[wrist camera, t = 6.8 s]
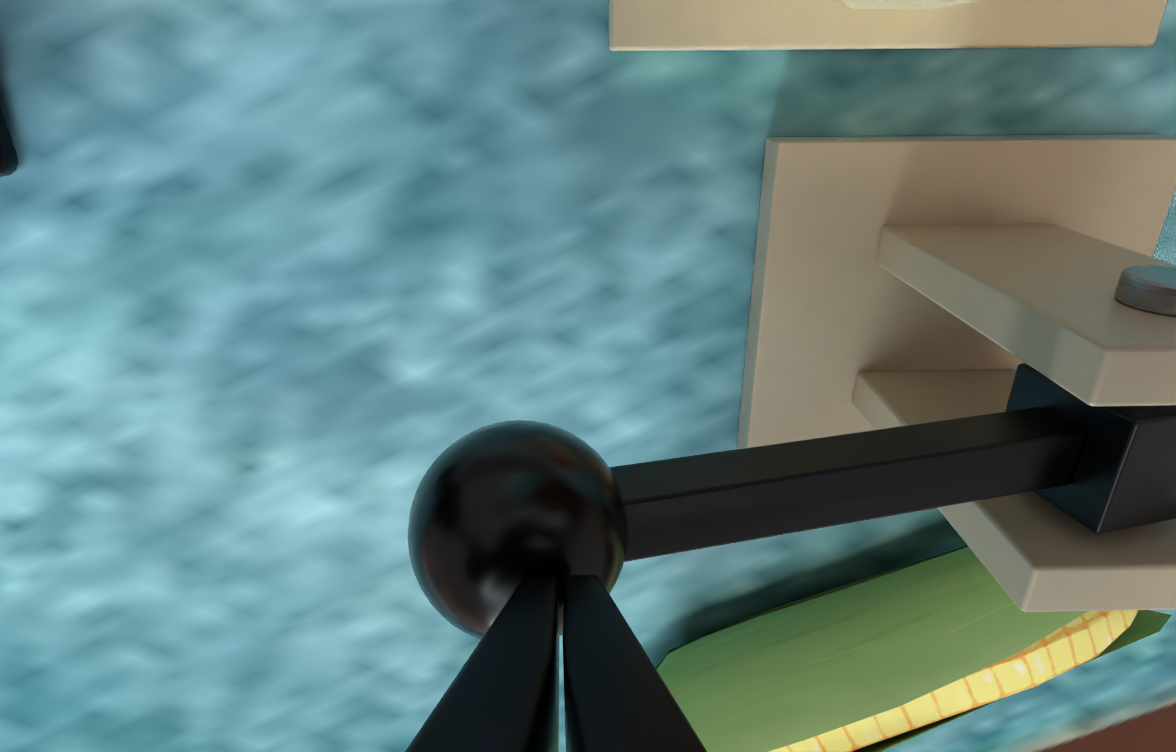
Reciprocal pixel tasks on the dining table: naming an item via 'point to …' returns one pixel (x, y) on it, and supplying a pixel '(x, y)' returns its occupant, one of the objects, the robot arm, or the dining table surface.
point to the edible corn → (881, 659)
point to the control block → (880, 24)
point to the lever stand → (971, 317)
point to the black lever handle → (764, 490)
